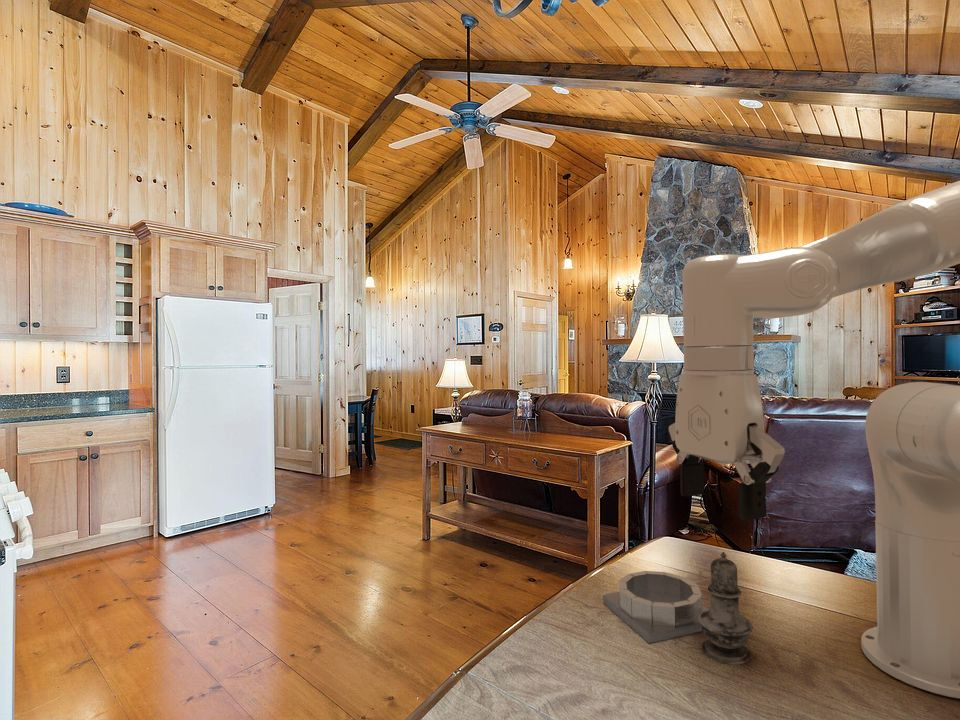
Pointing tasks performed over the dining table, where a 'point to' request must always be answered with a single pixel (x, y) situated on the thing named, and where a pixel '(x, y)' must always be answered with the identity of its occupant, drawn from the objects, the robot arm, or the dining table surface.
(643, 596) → the hub plate
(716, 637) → the salt shaker
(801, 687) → the dining table surface
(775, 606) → the dining table surface
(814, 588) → the dining table surface
